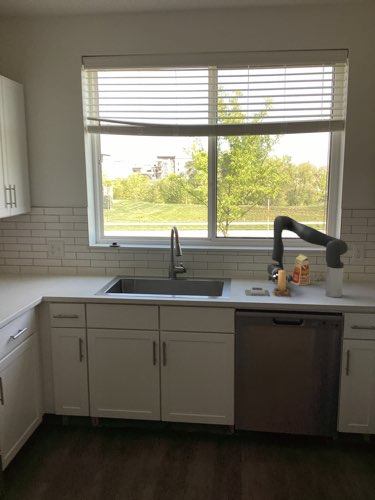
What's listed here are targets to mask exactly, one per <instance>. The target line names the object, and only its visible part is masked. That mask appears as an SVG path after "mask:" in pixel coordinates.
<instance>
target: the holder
mask: <svg viewBox="0 0 375 500" xmlns="http://www.w3.org/2000/svg"><path fill="white" fill-rule="evenodd" d="M271 293H272V296H273V297H279V298H280V297H282V298H283V297H284V298H288V297H289V298H291V297H292V296H291V293H290V290H289V289H288V288H285V292H284V291H278V287H276V288H275V287H274V288H273V291H271Z"/></svg>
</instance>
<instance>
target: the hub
mask: <svg viewBox="0 0 375 500" xmlns="http://www.w3.org/2000/svg"><path fill="white" fill-rule="evenodd" d="M249 288H250V289H244V293H245V296H246V297H247V296H248V297H271V294H270V292H269V290H268V289H267V290H266V289H265V288H264V287H263V286H261V287H259V286H257V287H256V286H250V287H249Z"/></svg>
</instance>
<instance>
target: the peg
mask: <svg viewBox="0 0 375 500" xmlns="http://www.w3.org/2000/svg"><path fill="white" fill-rule="evenodd" d="M286 275H287V271H286V270H279V271H278V282H277V288H278V291H284V292H285V289H286V285H287V284H286V283H287V281H286Z"/></svg>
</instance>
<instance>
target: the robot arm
mask: <svg viewBox="0 0 375 500" xmlns="http://www.w3.org/2000/svg"><path fill="white" fill-rule="evenodd" d="M283 231H288V232H291V233H294V234H295V235H297V237H298V238H299V239H301V240H302V241H304V242H306V243H309V244H311V245H316V246H321V247H324V248H325V263H326V276H325V277H326V279H325V294H324V295H325V296H327V297H331V298H342V297H343V281H344V268H345V267H344V266H345V265H344V262H342V261H341V256H342V255H344V254H346V253H347V252H348V250H349V248H348V247H349V246H348V244H347V243H346V242H345V241H344V240H343V239H339V238H337V237H334V236H330V235H328V234H326V233H324V232H322V231H320V230H318V229H316V228H313V227H311V226H309V225H307V224H303V223H300V222H298V221H296V220H295V219H293V218H292V217H290V216H287V215H277V216H276V217H275V218H274V220H273V249H272V254H271V255H272V256H271V260H272V261H275V262H278V264H277V263H269V265H267V268H266V269H267V273H268V281H269V282H270V281H272V282H273V283H275V282H277V283H278V271H279V270H284V264H283V263H284V261H283V260H284V250H285V247H284V241H283ZM284 271H285V270H284ZM291 281H293V277H292V275H291V274H289V275H287V274H286V282H287V283H291Z"/></svg>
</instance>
